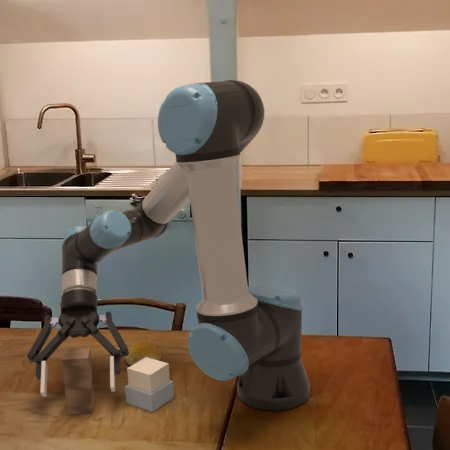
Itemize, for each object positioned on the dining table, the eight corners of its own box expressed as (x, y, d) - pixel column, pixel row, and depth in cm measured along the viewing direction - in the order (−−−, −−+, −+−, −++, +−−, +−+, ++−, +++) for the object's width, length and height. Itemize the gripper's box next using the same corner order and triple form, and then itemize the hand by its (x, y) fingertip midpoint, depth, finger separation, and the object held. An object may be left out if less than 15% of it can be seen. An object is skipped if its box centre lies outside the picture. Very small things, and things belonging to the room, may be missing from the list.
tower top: (169, 381, 146) (168, 363, 145) (151, 393, 141) (150, 375, 140) (147, 374, 149) (146, 357, 148) (128, 386, 144) (127, 368, 143)
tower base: (174, 398, 147) (173, 381, 146) (152, 413, 141) (151, 395, 140) (148, 390, 150) (147, 373, 149) (126, 404, 145) (125, 386, 144)
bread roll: (158, 350, 170) (157, 335, 169) (163, 366, 161) (162, 350, 160) (123, 354, 168) (122, 339, 167) (127, 370, 160) (126, 354, 159)
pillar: (94, 400, 146) (90, 347, 143) (92, 412, 141) (88, 357, 138) (70, 402, 146) (65, 349, 143) (67, 414, 141) (62, 359, 138)
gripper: (138, 298, 155) (142, 392, 144) (23, 306, 153) (17, 402, 142) (137, 283, 149) (140, 381, 138) (16, 291, 146) (10, 390, 136)
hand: (78, 392), depth 140 cm, fingers open, 13 cm apart
